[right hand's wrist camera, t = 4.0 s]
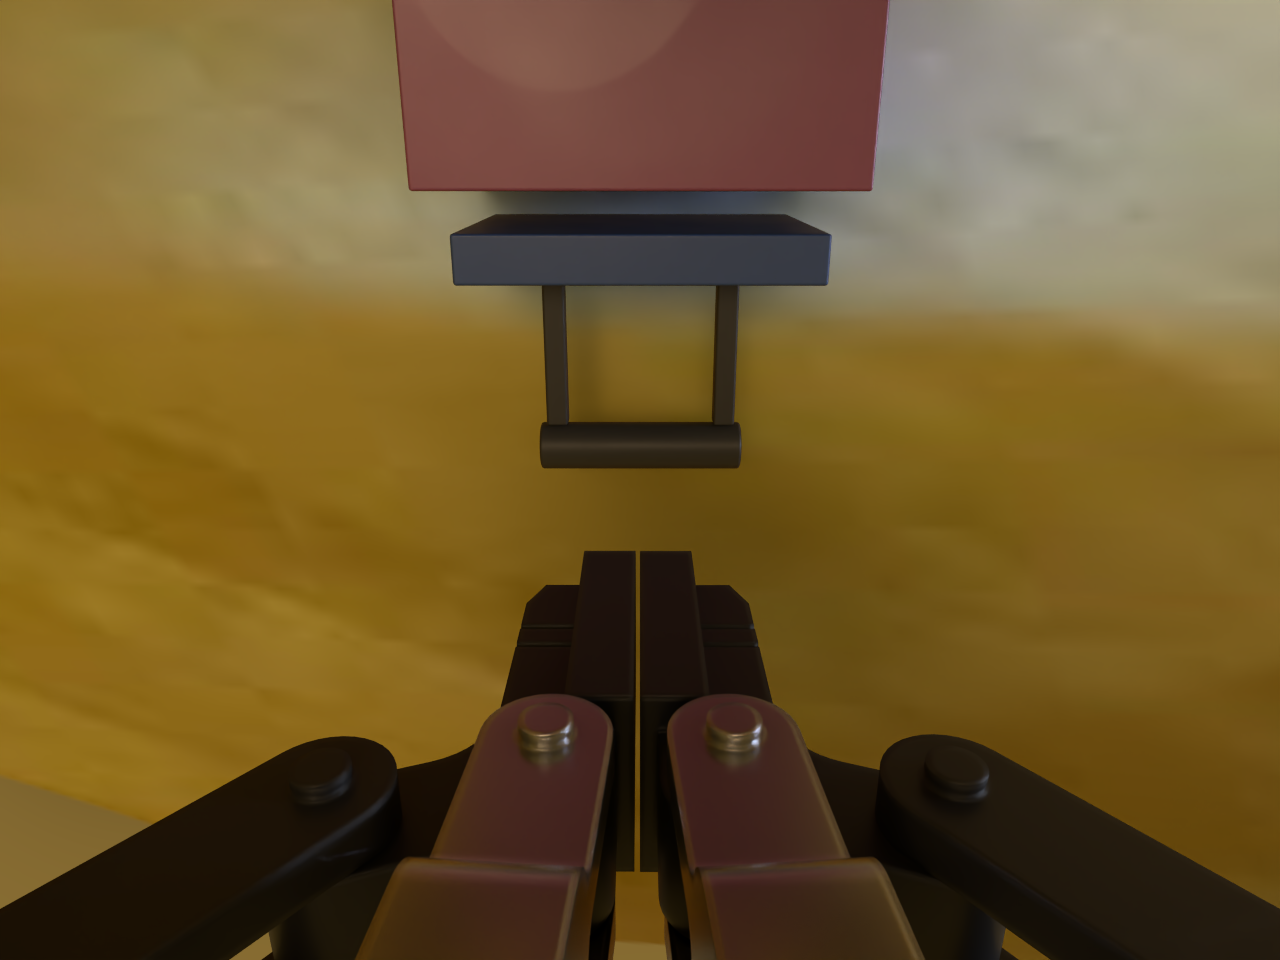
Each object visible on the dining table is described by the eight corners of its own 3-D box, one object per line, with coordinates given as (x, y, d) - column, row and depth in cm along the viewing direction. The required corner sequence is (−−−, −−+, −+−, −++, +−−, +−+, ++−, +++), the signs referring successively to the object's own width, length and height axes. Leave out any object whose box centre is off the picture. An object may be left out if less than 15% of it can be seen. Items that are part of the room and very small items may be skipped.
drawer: (774, 432, 29) (811, 508, 23) (506, 431, 29) (469, 508, 23) (818, -317, 22) (888, -501, 16) (463, -317, 22) (393, -501, 16)
